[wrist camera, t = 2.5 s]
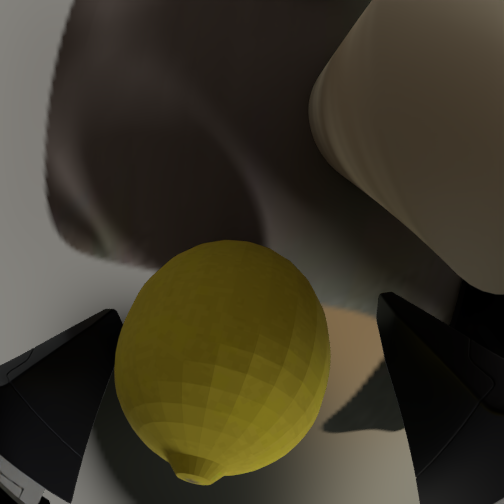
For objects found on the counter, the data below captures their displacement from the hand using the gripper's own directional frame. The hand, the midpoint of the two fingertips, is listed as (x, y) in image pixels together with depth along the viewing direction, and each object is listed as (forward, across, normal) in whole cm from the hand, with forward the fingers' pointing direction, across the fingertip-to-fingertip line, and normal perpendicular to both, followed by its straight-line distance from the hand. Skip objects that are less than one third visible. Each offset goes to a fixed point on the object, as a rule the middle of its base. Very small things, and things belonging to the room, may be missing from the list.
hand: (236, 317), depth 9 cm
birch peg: (+3, -5, -6) cm, 8 cm away
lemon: (+3, 0, 0) cm, 3 cm away
